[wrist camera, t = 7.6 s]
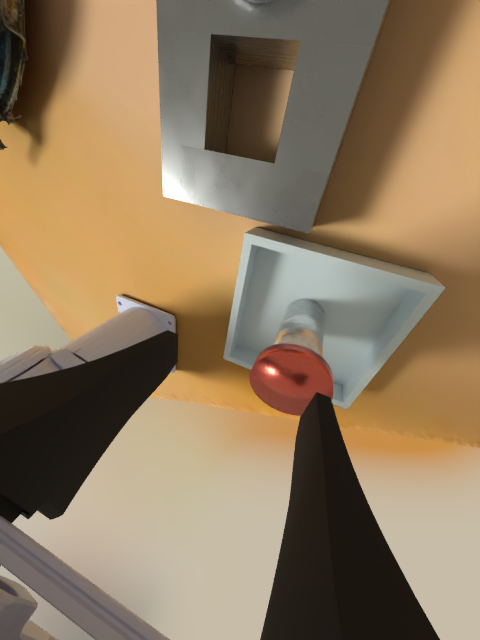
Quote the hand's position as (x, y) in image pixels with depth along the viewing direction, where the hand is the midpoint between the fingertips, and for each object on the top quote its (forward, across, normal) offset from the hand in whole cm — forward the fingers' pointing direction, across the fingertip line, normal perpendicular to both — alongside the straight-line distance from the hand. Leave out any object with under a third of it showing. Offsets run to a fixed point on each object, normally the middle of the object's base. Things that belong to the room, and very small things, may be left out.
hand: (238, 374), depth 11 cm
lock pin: (+9, -3, +1) cm, 10 cm away
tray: (+10, -3, +1) cm, 10 cm away
